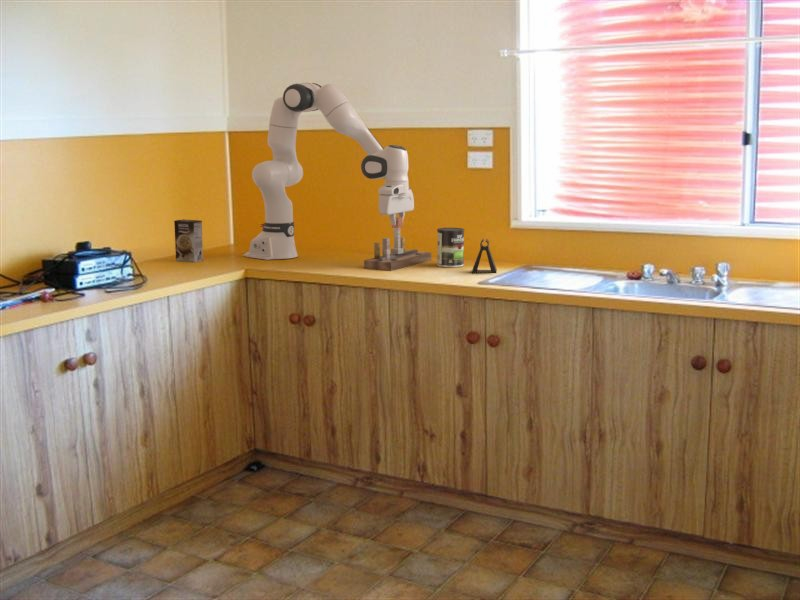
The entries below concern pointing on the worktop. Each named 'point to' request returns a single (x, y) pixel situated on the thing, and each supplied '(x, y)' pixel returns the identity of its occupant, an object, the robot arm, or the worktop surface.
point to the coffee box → (188, 240)
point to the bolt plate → (394, 257)
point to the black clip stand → (490, 259)
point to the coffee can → (450, 247)
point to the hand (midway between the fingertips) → (397, 224)
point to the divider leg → (397, 236)
